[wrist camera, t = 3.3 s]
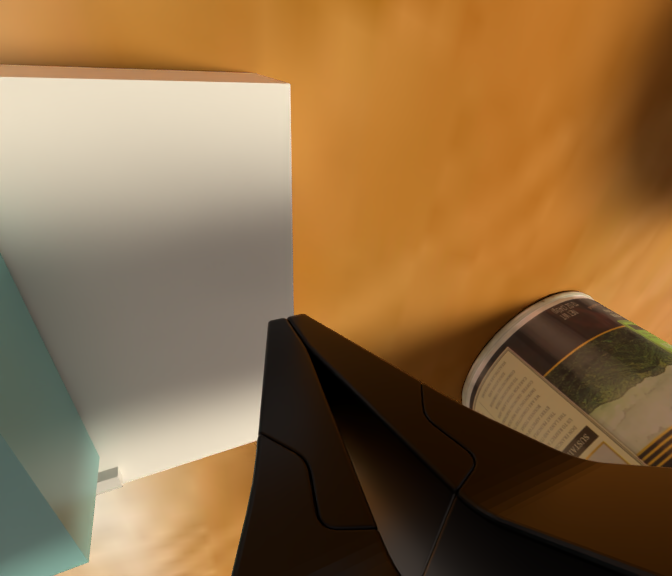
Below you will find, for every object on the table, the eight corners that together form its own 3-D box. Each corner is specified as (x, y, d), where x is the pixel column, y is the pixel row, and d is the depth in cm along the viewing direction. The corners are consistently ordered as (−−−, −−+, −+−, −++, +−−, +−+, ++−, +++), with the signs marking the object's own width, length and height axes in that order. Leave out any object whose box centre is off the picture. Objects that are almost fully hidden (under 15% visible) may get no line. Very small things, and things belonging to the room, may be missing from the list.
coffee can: (562, 259, 19) (1121, 552, 8) (610, 325, 25) (959, 538, 14) (428, 403, 21) (732, 790, 10) (503, 430, 27) (739, 686, 16)
